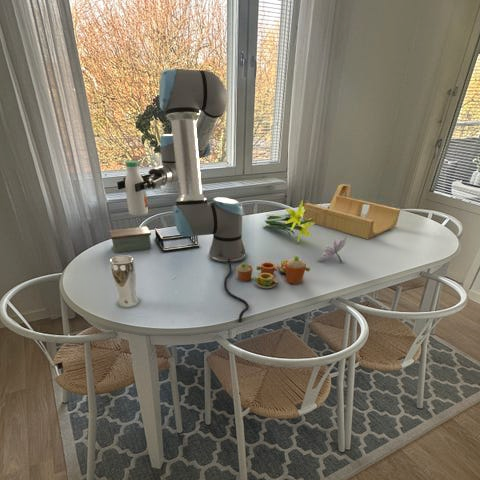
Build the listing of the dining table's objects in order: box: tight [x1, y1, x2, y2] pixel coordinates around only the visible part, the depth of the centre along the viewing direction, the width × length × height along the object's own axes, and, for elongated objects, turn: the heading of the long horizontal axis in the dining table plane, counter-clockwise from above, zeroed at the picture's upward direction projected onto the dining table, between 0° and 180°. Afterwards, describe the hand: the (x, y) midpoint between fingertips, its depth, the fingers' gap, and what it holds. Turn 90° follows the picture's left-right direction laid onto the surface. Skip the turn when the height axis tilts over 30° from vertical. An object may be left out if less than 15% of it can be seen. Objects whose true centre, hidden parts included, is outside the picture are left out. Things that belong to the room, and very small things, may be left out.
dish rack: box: [154, 227, 200, 253], centre depth 154 cm, size 17×16×6 cm
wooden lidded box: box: [108, 226, 152, 254], centre depth 148 cm, size 9×16×7 cm, turn 114°
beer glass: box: [109, 254, 140, 308], centre depth 107 cm, size 7×7×15 cm
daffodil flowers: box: [262, 200, 316, 243], centre depth 163 cm, size 17×15×35 cm
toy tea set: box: [236, 255, 311, 289], centre depth 125 cm, size 26×16×10 cm, turn 112°
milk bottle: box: [124, 160, 149, 216], centre depth 138 cm, size 8×8×20 cm
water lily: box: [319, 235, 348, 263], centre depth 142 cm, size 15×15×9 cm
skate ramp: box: [302, 180, 402, 240], centre depth 184 cm, size 40×35×16 cm
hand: (127, 187), depth 134 cm, fingers closed on milk bottle, 7 cm apart
